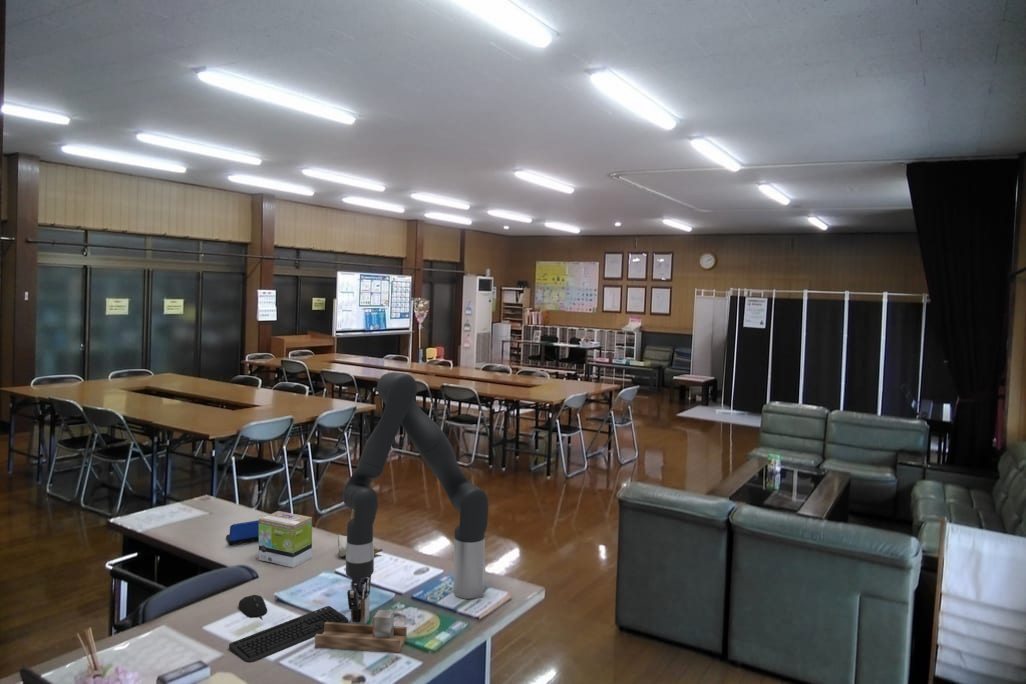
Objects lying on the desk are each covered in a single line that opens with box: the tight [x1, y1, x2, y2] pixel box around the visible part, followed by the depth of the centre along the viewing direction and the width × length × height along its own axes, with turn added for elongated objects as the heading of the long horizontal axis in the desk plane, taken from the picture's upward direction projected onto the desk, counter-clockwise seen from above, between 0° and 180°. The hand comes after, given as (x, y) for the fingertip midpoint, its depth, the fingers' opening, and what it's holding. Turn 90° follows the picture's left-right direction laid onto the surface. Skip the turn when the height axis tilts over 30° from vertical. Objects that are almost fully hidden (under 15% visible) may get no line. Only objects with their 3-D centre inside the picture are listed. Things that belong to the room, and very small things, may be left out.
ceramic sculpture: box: [337, 534, 383, 558], centre depth 232 cm, size 11×9×15 cm
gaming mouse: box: [238, 594, 268, 621], centre depth 192 cm, size 6×15×4 cm, turn 38°
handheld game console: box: [225, 519, 259, 546], centre depth 247 cm, size 16×13×9 cm
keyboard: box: [228, 605, 350, 663], centre depth 179 cm, size 30×11×2 cm, turn 139°
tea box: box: [258, 510, 313, 569], centre depth 229 cm, size 15×10×15 cm
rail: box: [314, 609, 408, 653], centre depth 175 cm, size 22×8×8 cm, turn 85°
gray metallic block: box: [350, 594, 370, 624], centre depth 186 cm, size 4×5×7 cm
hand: (359, 616), depth 186 cm, fingers closed on gray metallic block, 4 cm apart
